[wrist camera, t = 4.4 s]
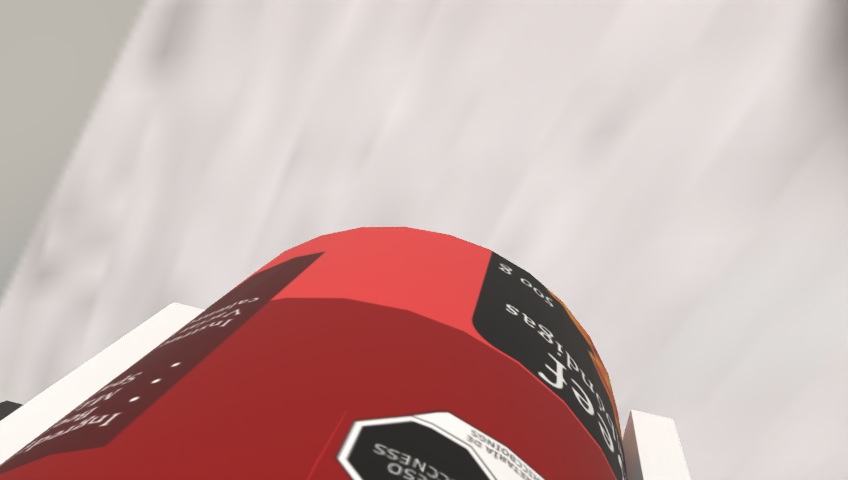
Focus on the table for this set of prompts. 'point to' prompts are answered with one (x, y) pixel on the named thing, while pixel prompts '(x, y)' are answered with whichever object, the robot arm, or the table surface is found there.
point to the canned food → (355, 378)
